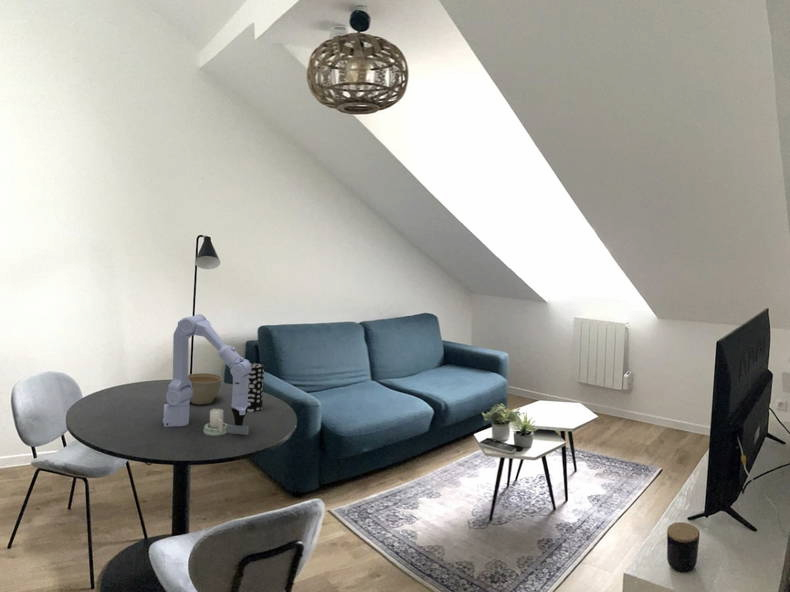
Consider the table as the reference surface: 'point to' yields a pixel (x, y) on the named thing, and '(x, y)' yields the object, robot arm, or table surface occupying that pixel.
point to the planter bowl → (204, 387)
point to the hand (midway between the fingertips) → (238, 427)
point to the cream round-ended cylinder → (216, 419)
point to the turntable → (226, 430)
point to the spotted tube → (255, 387)
